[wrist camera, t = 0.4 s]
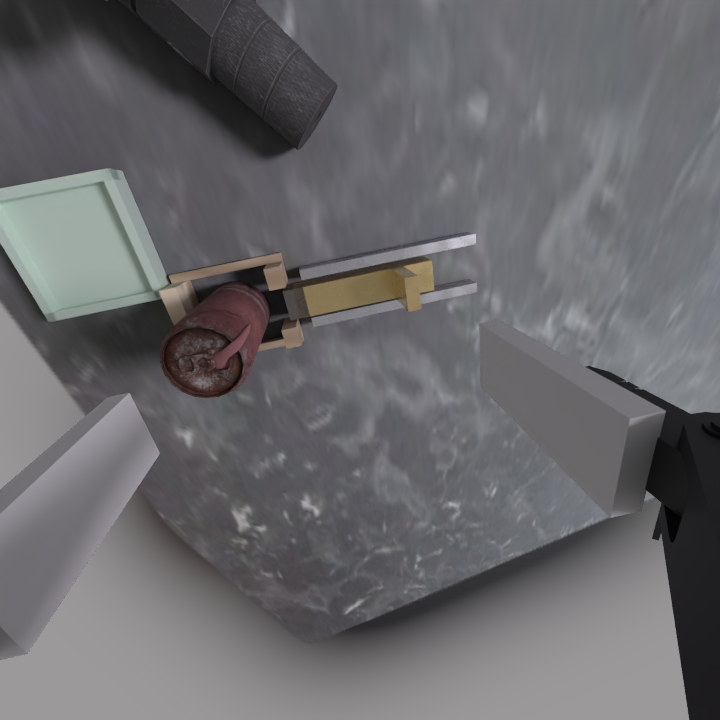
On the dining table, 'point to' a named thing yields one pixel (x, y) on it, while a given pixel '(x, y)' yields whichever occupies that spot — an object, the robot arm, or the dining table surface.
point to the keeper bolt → (361, 288)
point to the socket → (182, 293)
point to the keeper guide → (384, 257)
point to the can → (216, 341)
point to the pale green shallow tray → (80, 244)
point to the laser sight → (245, 58)
